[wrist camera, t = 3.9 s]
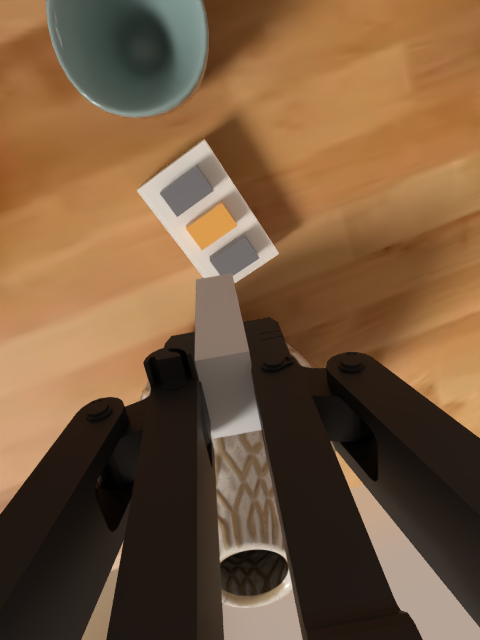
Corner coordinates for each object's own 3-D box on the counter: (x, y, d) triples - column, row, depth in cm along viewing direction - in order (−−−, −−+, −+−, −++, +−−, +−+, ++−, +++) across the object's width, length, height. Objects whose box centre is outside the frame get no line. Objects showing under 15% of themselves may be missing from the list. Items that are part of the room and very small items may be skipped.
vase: (343, 364, 42) (454, 550, 24) (238, 466, 46) (264, 689, 28) (216, 266, 36) (234, 410, 18) (111, 392, 41) (41, 608, 23)
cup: (192, -24, 28) (189, -93, 19) (216, 107, 31) (224, 101, 22) (75, 0, 28) (16, -58, 19) (112, 128, 31) (77, 131, 22)
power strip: (141, 184, 33) (134, 192, 30) (204, 138, 32) (204, 140, 29) (215, 282, 37) (217, 301, 34) (273, 243, 36) (281, 258, 32)
